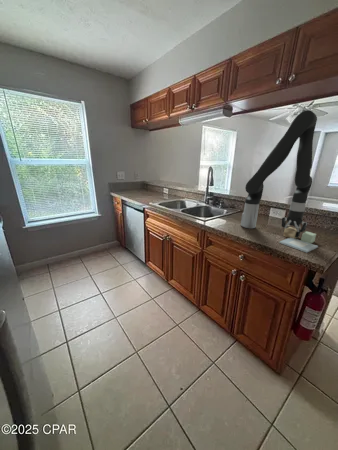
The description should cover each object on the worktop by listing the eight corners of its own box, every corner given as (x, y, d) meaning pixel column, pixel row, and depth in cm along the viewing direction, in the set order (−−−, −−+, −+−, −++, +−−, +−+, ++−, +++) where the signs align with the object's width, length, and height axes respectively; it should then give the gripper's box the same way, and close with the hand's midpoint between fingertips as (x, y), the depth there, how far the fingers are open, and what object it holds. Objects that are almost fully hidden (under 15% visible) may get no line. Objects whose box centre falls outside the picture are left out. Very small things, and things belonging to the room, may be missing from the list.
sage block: (300, 240, 110) (302, 232, 108) (304, 239, 113) (306, 231, 111) (310, 243, 106) (312, 235, 104) (314, 241, 109) (316, 234, 107)
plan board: (279, 242, 106) (279, 241, 106) (290, 238, 112) (290, 237, 112) (306, 252, 95) (307, 250, 95) (317, 247, 101) (317, 245, 101)
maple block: (283, 235, 117) (284, 228, 115) (288, 234, 120) (289, 226, 118) (293, 239, 112) (295, 231, 110) (298, 237, 115) (300, 229, 113)
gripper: (281, 207, 114) (276, 233, 120) (307, 213, 103) (300, 240, 108) (287, 206, 118) (282, 231, 123) (313, 211, 106) (306, 238, 112)
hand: (290, 235), depth 116 cm, fingers closed on maple block, 6 cm apart
